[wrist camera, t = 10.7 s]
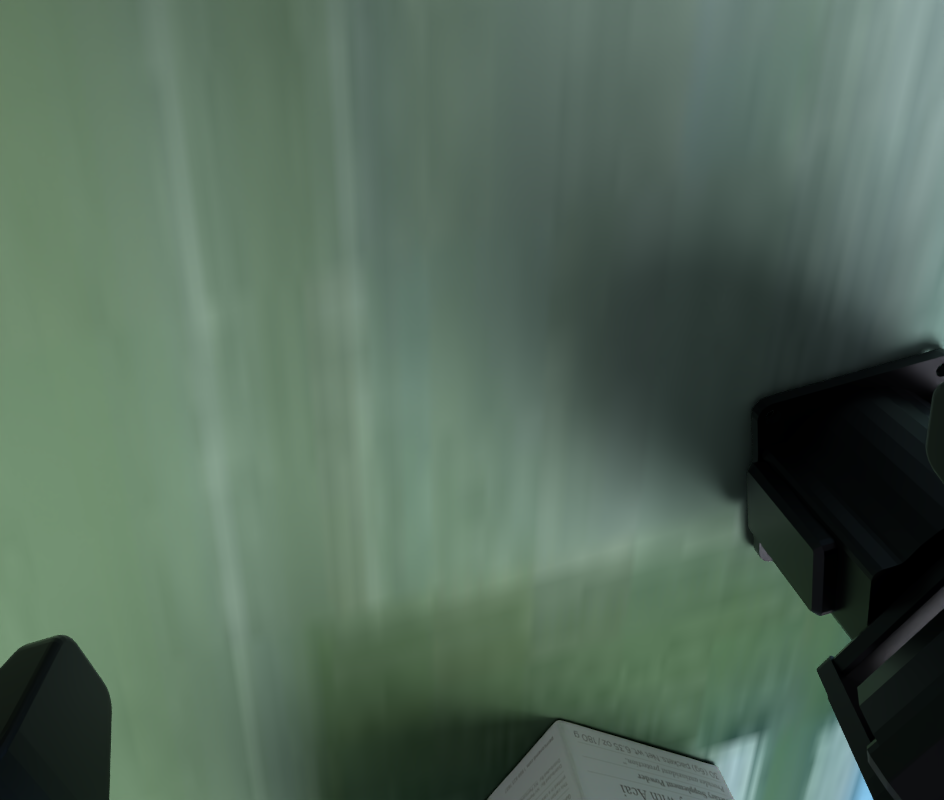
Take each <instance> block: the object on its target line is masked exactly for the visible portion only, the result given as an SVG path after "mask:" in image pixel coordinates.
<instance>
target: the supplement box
mask: <svg viewBox="0 0 944 800" xmlns="http://www.w3.org/2000/svg"><path fill="white" fill-rule="evenodd" d="M487 800H734V798H733V796H732V794H731V792H730V790H729V788H728V786H727V784H726V782H725V780H724V778H723V776H722V774H721V772H720V770H719V768H718V767H717V766H715V765H711V764H707V763H704V762H701V761H697V760H694V759H691V758H688V757H684V756H681V755H678V754H674V753H671V752H667V751H664V750H661V749H657V748H654V747H650V746H647V745H644V744H641V743H637V742H634V741H631V740H627V739H624V738H620V737H617V736H614V735H610V734H607V733H603V732H600V731H596V730H593V729H590V728H586V727H583V726H580V725H577V724H573V723H569V722H566V721H561V720H558V721H556V722H555V723H554V724H553V725H552V726H551V727H550V728H549V729H548V730H547V731H546V733H545V734H544V735H543V736H542V737H541V738H540V739H539V741H538V742H537V743H536V744H535V745H534V746H533V748H532V749H531V750H530V751H529V752H528V753H527V754H526V756H525V757H524V758H523V759H522V760H521V761H520V763H519V764H518V765H517V766H516V767H515V768H514V769H513V770H512V772H511V773H510V774H509V775H508V776H507V777H506V778H505V779H504V781H503V782H502V783H501V784H500V785H499V786H498V787H497V788H496V790H495V791H494V792H493V793H492V794H491V795H490V797H489V798H488V799H487Z"/></svg>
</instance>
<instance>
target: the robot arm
mask: <svg viewBox="0 0 944 800" xmlns="http://www.w3.org/2000/svg"><path fill="white" fill-rule="evenodd" d="M941 364H942V365H941ZM940 365H941V366H940ZM939 366H940V367H939ZM938 367H939V368H938ZM937 368H938V369H937ZM773 410H774V412H773V413H772V414H771V415H770V416H769V417H766V415H767V414H768V413H769V412H771V411H773ZM751 432H752V463H751V464H750V466H749V468H748V470H747V500H748V527H749V529H750V531H751V532H752V533H753V535H754V548H755V551H756V552H757V553H758V555H759V556H760V558H761V559H763V560H764V561H773V562H774V563H775V564H776V566H777V567H778V568H779V570H780V571H781V572H782V574H783V575H784V576H785V578H786V579H787V580H788V582H789V583H790V584H791V586H792V587H793V588H794V590H795V591H796V592H797V594H798V595H799V596H800V598H801V599H802V601H803V602H804V603H805V605H806V606H807V607H808V609H809V610H810V611H812V612H813V613H815V614H817V615H819V616H822V615H825V614H829V613H831V614H832V615H833V616H834V618H835V619H836V620H837V622H838V623H839V624H840V625H841V627H842V628H843V629H844V631H845V632H846V633H847V635H848V636H849V637H850V638H851V640H852V641H851V642H850V643H849V644H848V645H847V646H846V647H844V648H843V649H842V650H841V651H840V652H839V653H838V654H837V655H836V656H835V657H833V656H830V657H829V658H828V659H827V660H825V661H824V662H823V663H822V664H821V665H820V666H819V667H818V668H817V672H818V674H819V677H820V679H821V681H822V683H823V686H824V688H825V690H826V692H827V695H828V700H829V702H830V704H831V706H832V708H833V711H834V713H835V715H836V717H837V720H838V722H839V724H840V726H841V728H842V731H843V733H844V735H845V737H846V740H847V742H848V744H849V746H850V748H851V751H852V753H853V755H854V757H855V760H856V762H857V764H858V766H859V768H860V771H861V773H862V775H863V777H864V779H865V782H866V784H867V786H868V788H869V791H870V793H871V795H872V797H873V799H874V800H944V349H937V350H933V351H930V352H926V353H923V354H919V355H915V356H912V357H908V358H905V359H901V360H897V361H894V362H890V363H887V364H883V365H879V366H876V367H872V368H869V369H865V370H862V371H858V372H854V373H851V374H847V375H844V376H840V377H836V378H833V379H829V380H826V381H822V382H818V383H815V384H811V385H808V386H804V387H801V388H797V389H793V390H790V391H786V392H783V393H779V394H775V395H772V396H768V397H765V398H763V399H761V400H760V401H758V402H757V403H756V404H755V406H754V407H753V409H752V413H751ZM111 720H112V706H111V699H110V695H109V692H108V689H107V687H106V685H105V683H104V682H103V680H102V679H101V678H100V676H99V675H98V673H97V672H96V670H95V669H94V668H93V666H92V665H91V663H90V662H89V660H88V659H87V658H86V656H85V655H84V653H83V652H82V650H81V649H80V648H79V646H78V645H77V643H76V642H75V641H74V640H73V639H72V638H70V637H68V636H66V635H57V636H53V637H50V638H46V639H43V640H39V641H36V642H32V643H29V644H26V645H24V646H22V647H21V648H19V649H18V650H17V651H16V652H15V653H14V654H13V655H12V656H11V657H10V658H9V659H8V660H7V661H6V662H5V664H4V665H3V666H2V667H1V668H0V800H109V790H110V755H111Z"/></svg>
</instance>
